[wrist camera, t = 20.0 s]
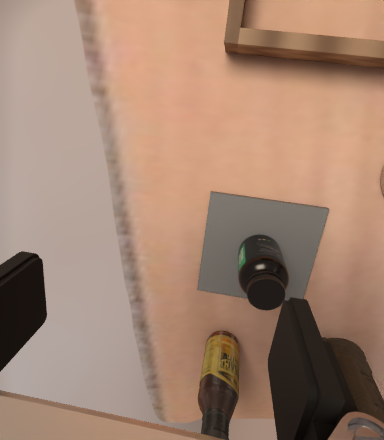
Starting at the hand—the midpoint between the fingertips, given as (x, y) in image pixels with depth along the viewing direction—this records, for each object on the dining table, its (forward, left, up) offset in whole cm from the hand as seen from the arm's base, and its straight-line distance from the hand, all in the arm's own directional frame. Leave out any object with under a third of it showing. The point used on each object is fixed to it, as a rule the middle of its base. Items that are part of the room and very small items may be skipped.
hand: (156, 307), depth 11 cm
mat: (-9, +14, -36) cm, 40 cm away
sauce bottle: (-6, +34, -36) cm, 50 cm away
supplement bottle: (-9, +14, -36) cm, 39 cm away
